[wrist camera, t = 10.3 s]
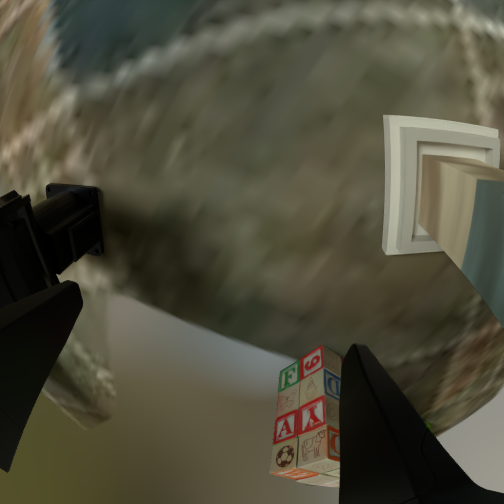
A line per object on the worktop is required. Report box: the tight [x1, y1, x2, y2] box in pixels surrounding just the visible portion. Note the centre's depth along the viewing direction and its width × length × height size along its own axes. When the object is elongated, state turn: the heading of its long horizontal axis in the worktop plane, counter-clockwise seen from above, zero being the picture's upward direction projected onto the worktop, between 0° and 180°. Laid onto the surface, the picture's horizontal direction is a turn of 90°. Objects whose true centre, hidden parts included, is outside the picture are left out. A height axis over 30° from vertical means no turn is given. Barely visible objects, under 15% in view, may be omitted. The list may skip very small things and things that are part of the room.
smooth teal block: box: [418, 154, 504, 329], centre depth 10 cm, size 5×5×13 cm
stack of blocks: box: [270, 345, 413, 488], centre depth 24 cm, size 21×6×12 cm, turn 51°
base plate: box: [382, 115, 500, 255], centre depth 16 cm, size 10×10×2 cm
